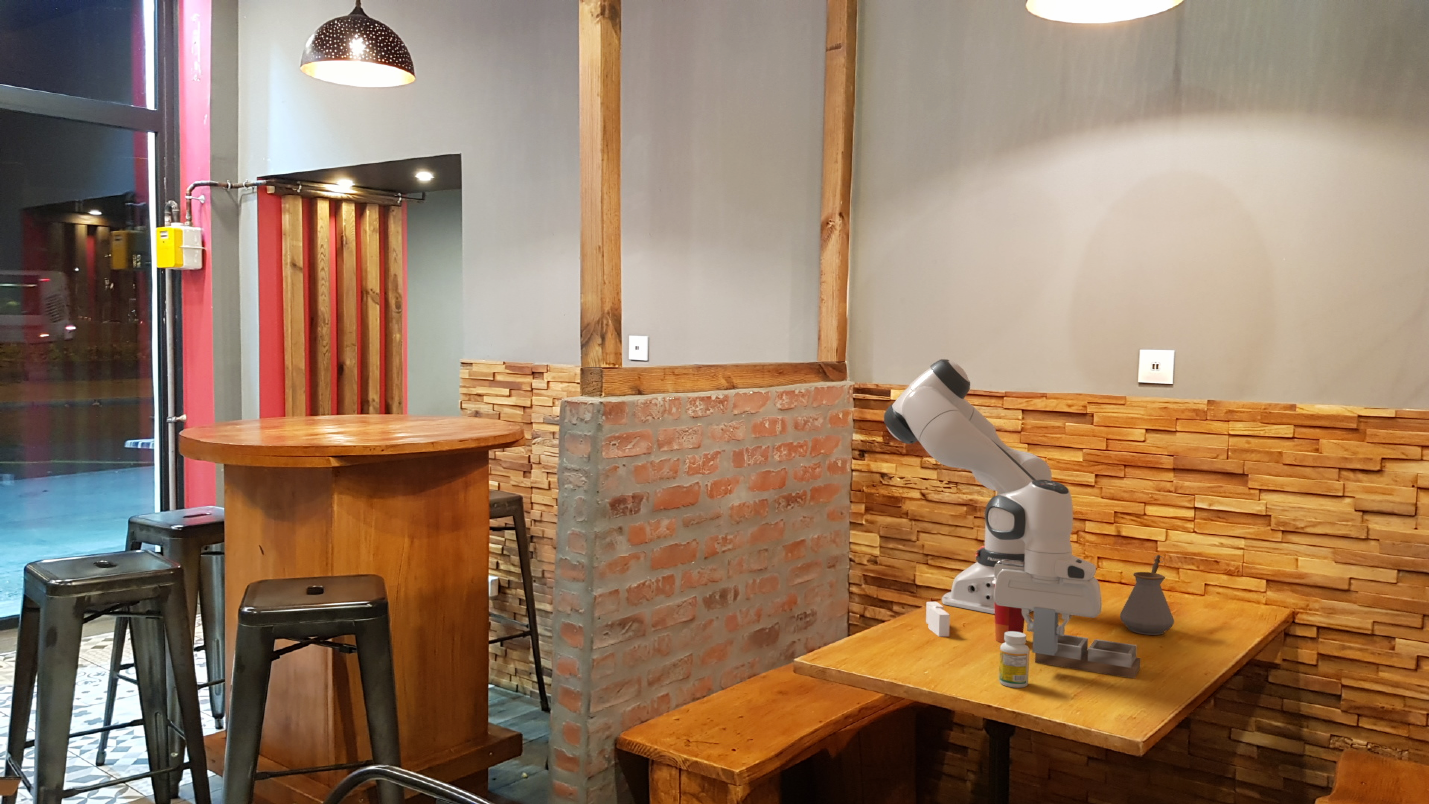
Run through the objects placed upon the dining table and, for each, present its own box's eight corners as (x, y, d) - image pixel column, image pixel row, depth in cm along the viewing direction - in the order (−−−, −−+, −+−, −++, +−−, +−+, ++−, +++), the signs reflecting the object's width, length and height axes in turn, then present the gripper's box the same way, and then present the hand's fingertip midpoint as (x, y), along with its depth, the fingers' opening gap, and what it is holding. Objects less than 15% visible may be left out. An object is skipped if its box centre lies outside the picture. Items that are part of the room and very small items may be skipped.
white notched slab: (953, 642, 229) (954, 616, 228) (903, 634, 234) (904, 609, 234) (973, 627, 242) (973, 602, 241) (925, 619, 247) (926, 595, 247)
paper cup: (1028, 638, 231) (1030, 575, 231) (1026, 647, 224) (1028, 582, 223) (991, 634, 234) (993, 572, 233) (988, 643, 227) (990, 579, 226)
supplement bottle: (1020, 690, 196) (1022, 639, 196) (994, 683, 200) (995, 634, 199) (1032, 683, 200) (1034, 634, 200) (1006, 677, 204) (1008, 628, 203)
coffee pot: (1169, 640, 232) (1172, 573, 231) (1115, 632, 238) (1117, 566, 237) (1182, 619, 250) (1185, 557, 249) (1131, 612, 256) (1134, 551, 255)
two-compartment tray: (1034, 662, 214) (1035, 640, 213) (1043, 652, 221) (1044, 631, 220) (1134, 678, 204) (1135, 655, 204) (1140, 667, 211) (1141, 645, 211)
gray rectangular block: (1032, 652, 206) (1033, 607, 206) (1036, 647, 210) (1038, 602, 209) (1053, 655, 204) (1054, 610, 204) (1057, 650, 208) (1058, 605, 207)
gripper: (990, 560, 208) (988, 629, 209) (1099, 572, 198) (1096, 644, 199) (998, 555, 214) (996, 622, 214) (1104, 566, 204) (1101, 636, 205)
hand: (1045, 633), depth 207 cm, fingers closed on gray rectangular block, 4 cm apart
